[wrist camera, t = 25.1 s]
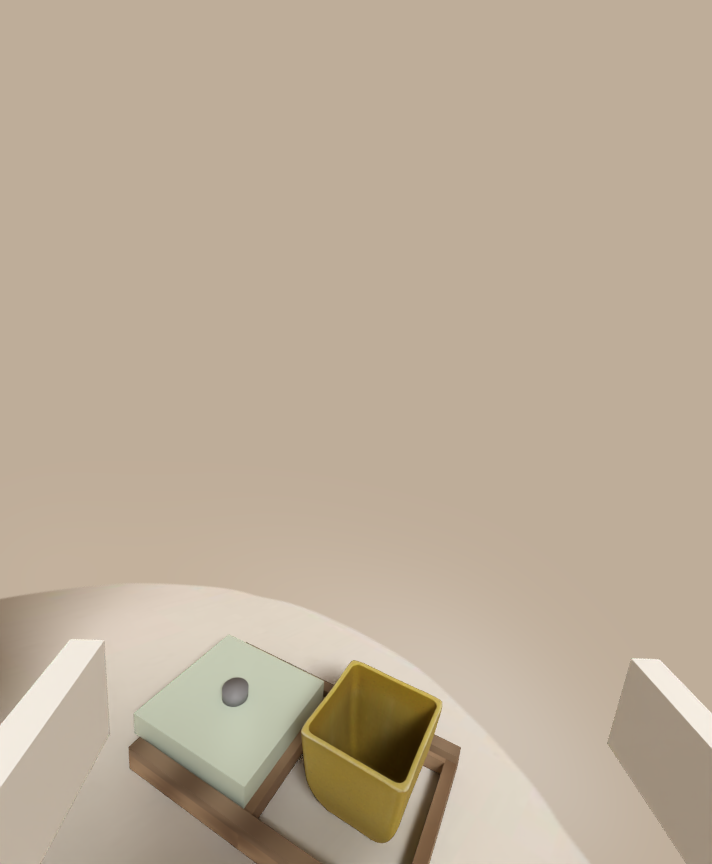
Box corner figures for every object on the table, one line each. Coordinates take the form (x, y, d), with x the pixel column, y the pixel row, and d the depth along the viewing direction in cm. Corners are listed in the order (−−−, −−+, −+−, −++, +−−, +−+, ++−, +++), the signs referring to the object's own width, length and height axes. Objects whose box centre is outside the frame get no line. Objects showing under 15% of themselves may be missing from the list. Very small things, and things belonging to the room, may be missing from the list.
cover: (134, 733, 39) (133, 703, 39) (228, 650, 50) (229, 626, 49) (243, 808, 34) (244, 776, 33) (322, 699, 45) (325, 673, 44)
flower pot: (391, 889, 31) (406, 793, 29) (291, 819, 35) (298, 729, 33) (430, 783, 39) (444, 700, 37) (345, 735, 43) (353, 657, 41)
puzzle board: (129, 768, 38) (128, 747, 37) (245, 658, 51) (246, 642, 50) (398, 970, 27) (402, 944, 27) (457, 767, 41) (460, 747, 40)
